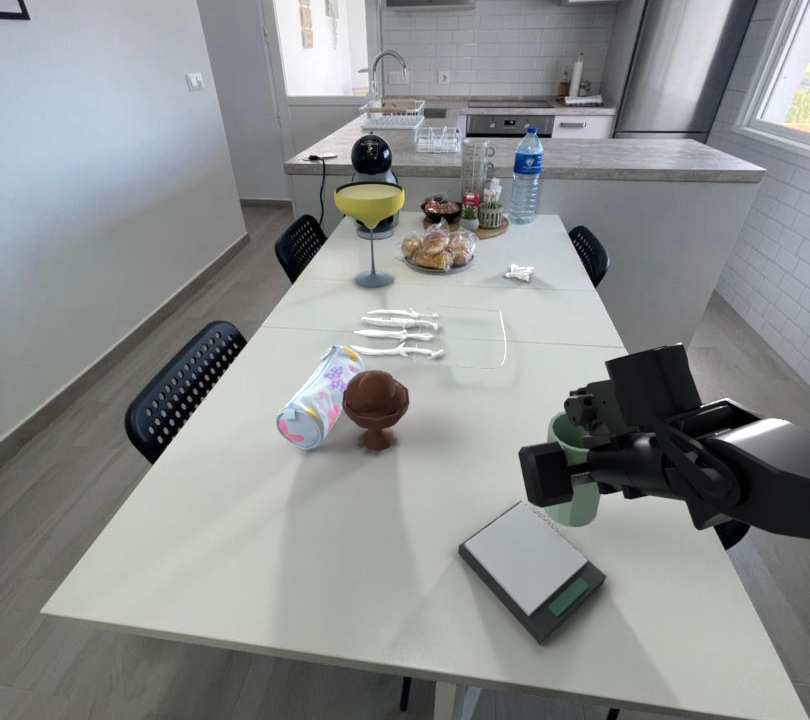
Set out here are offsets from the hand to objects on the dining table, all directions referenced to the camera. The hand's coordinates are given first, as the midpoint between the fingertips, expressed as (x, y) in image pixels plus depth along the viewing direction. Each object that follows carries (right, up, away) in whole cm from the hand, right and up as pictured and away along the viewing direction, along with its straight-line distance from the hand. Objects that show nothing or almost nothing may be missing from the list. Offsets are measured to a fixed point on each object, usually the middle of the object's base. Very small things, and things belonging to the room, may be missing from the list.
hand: (567, 459), depth 56 cm
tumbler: (+1, -7, +3) cm, 7 cm away
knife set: (-15, +18, +48) cm, 54 cm away
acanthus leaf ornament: (+13, +37, +75) cm, 85 cm away
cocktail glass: (-29, +36, +73) cm, 86 cm away
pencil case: (-35, +2, +26) cm, 44 cm away
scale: (-4, -15, +2) cm, 15 cm away
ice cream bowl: (-25, -1, +21) cm, 33 cm away
